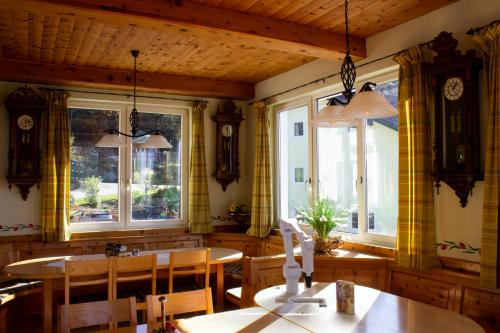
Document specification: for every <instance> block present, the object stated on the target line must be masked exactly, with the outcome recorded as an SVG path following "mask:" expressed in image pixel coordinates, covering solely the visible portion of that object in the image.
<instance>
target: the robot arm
mask: <svg viewBox="0 0 500 333" xmlns="http://www.w3.org/2000/svg"><path fill="white" fill-rule="evenodd" d="M298 222H299V221H298V219H297V218H295V217H294V218H286V219H285V218H283V219H282V218H280V221H279V224H278V225H279V232H280V234H281V235H282V238H283V246H284V247H283V248H284V254H285V259H286V262H285V263H284V264H283V265H282V275H283V277H284V278H285V287H286V288H285V292H286V293H287V294H292V295H294V294H299V292H300V290H299V280H300V278H301V276H303V280H304V279H305V282H306V287H307V288H311V282H312V283H313V278H314V277H315V276H314V271H315V270H314V250H315V247H316V242H315V241H314V239H313V238H310V237H309V236H308V235H307V234H306V233H305V231H304V230H303V231H302V230H301V228H300V227H299V223H298ZM293 233H294V234H295V238H296V240H297V242H299V245H300V249H301V251H300V252H301V254H302V268H301V266H300V263H299V262H297V261H296V259H295V253H294V252H295V251H294V246H293V239H292V238H293V237H292V234H293ZM302 273H303V275H302Z"/></svg>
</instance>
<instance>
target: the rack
mask: <svg viewBox="0 0 500 333" xmlns="http://www.w3.org/2000/svg"><path fill="white" fill-rule="evenodd" d="M294 300H295V303H297V302H298V303H299V302H300V303H302V302H303V303H304V302H307V303H314V302H315V303H318V307H324V308H325V307H327V302H326V298H323V297H321V296H319V297H318V296H316V297H315V296H313V297H309V296H308V297H307V296H303V297H302V296H295V297H294Z"/></svg>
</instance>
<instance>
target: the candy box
mask: <svg viewBox="0 0 500 333" xmlns="http://www.w3.org/2000/svg"><path fill="white" fill-rule="evenodd" d="M335 296H336V298H335V299H336V303H335V304H336V308H335V310H336V311H337V312H341V313H345V314H348V315H351V314H355V313H356V311H355V310H356V309H355V282H353V281H348V280H343V279H339V280H335Z"/></svg>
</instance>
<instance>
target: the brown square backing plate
mask: <svg viewBox="0 0 500 333" xmlns="http://www.w3.org/2000/svg"><path fill="white" fill-rule="evenodd" d="M274 303H275V304H289V298H275V299H274Z"/></svg>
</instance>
